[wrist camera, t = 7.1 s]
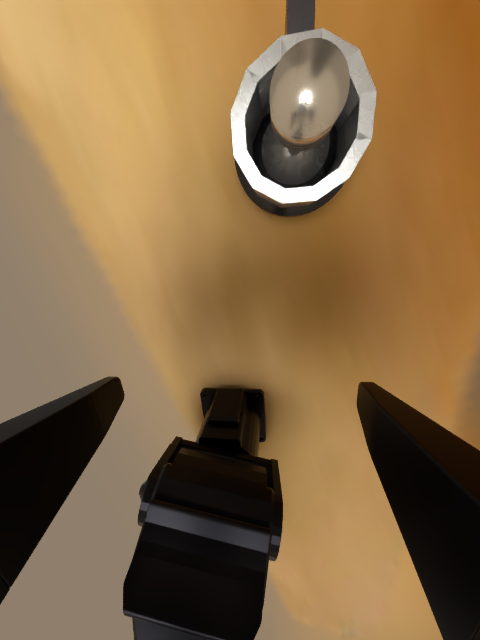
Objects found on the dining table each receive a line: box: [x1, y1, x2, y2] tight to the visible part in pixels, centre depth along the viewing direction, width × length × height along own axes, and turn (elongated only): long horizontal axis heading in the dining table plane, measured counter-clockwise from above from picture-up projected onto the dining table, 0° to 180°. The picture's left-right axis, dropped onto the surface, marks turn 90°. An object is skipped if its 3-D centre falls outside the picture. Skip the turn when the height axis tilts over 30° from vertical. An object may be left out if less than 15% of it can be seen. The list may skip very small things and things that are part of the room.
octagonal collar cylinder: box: [231, 0, 377, 216], centre depth 14 cm, size 9×8×5 cm
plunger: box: [262, 38, 350, 186], centre depth 12 cm, size 4×4×8 cm
